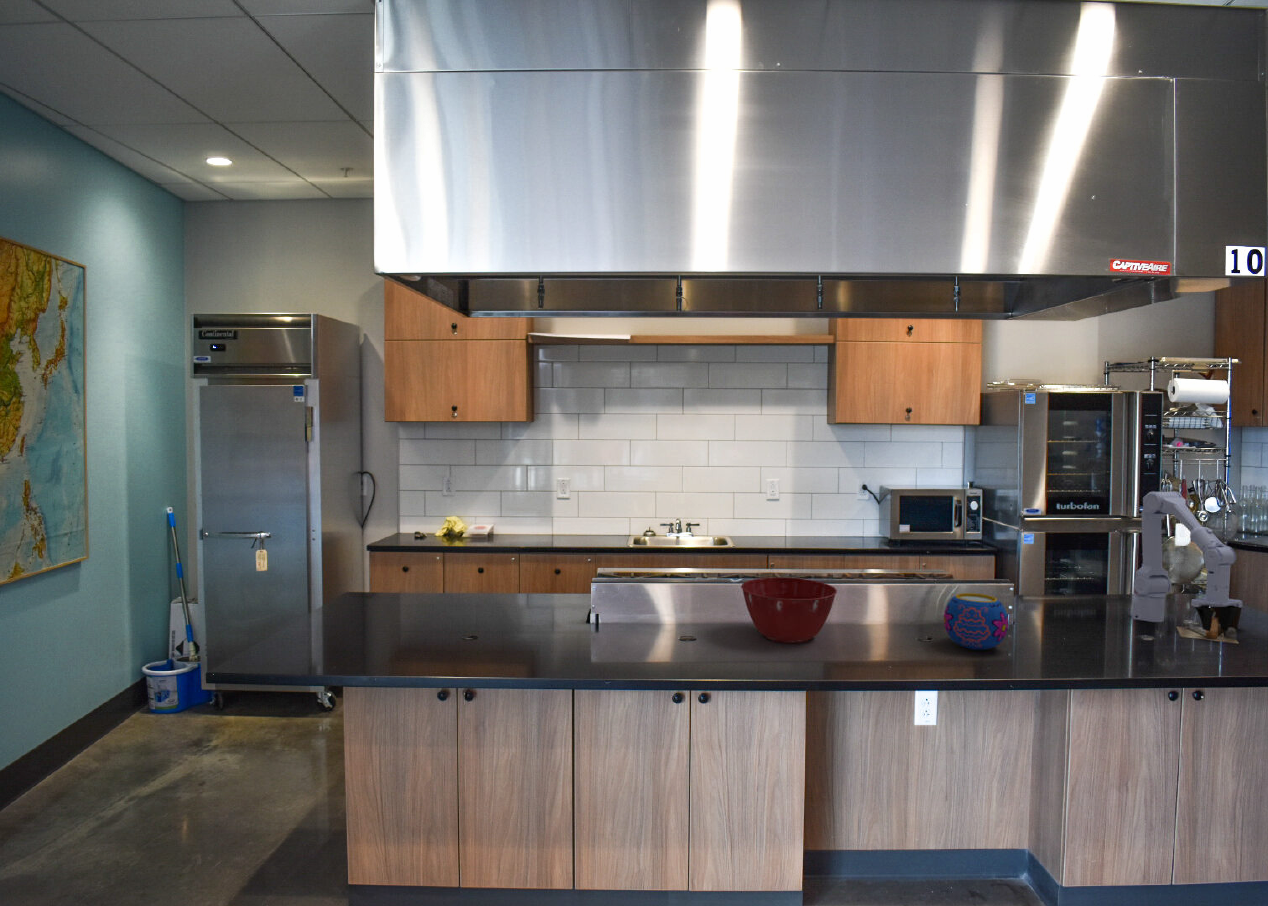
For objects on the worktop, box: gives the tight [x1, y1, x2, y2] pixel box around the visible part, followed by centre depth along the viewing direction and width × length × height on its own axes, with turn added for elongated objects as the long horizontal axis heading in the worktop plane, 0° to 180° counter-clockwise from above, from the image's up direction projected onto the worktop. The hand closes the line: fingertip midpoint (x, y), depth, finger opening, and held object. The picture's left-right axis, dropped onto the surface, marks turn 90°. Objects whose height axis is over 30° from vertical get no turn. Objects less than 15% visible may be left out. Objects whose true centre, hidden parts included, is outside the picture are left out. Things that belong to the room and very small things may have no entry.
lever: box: [1183, 617, 1219, 638], centre depth 255 cm, size 14×3×6 cm, turn 176°
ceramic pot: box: [943, 592, 1009, 651], centre depth 240 cm, size 18×18×15 cm
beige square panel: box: [1176, 624, 1240, 644], centre depth 254 cm, size 14×14×3 cm
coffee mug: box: [1209, 598, 1243, 631], centre depth 263 cm, size 12×9×10 cm
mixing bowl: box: [740, 577, 838, 644], centre depth 248 cm, size 28×28×16 cm
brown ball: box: [1218, 624, 1224, 635], centre depth 254 cm, size 4×4×4 cm
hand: (1215, 630), depth 250 cm, fingers open, 5 cm apart
